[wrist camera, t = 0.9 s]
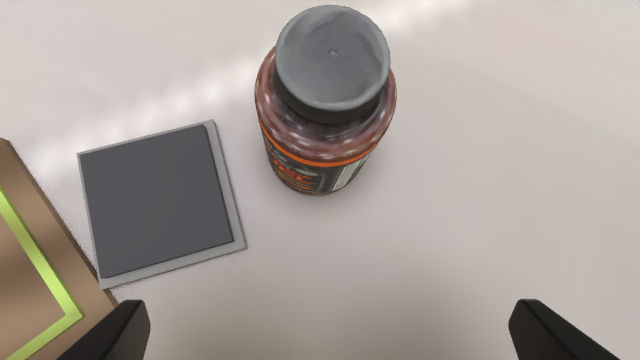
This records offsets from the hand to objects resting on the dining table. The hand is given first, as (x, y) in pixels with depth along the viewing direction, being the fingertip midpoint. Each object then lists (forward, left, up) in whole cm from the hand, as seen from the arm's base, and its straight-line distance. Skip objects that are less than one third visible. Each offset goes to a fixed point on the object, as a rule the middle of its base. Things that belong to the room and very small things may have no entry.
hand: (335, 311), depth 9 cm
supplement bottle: (+7, +5, -13) cm, 16 cm away
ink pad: (-1, +10, -13) cm, 17 cm away
